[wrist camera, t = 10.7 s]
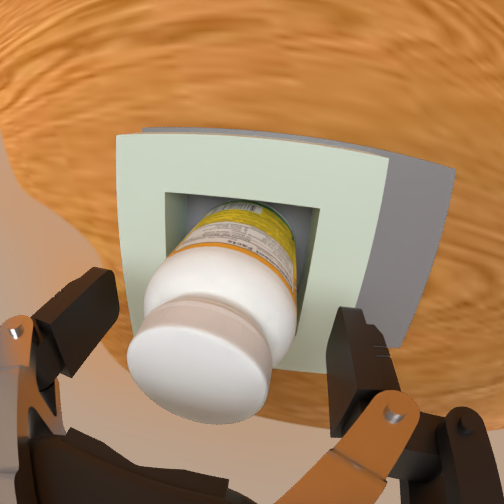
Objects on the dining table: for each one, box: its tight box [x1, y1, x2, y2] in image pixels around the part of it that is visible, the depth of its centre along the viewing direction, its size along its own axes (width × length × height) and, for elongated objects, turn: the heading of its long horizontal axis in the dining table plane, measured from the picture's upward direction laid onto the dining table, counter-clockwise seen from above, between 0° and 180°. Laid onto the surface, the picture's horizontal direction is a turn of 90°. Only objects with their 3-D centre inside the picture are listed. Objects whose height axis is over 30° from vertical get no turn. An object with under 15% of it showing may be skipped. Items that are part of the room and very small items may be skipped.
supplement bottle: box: [127, 199, 297, 424], centre depth 11 cm, size 5×5×10 cm
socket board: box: [116, 127, 456, 374], centre depth 15 cm, size 12×17×4 cm
